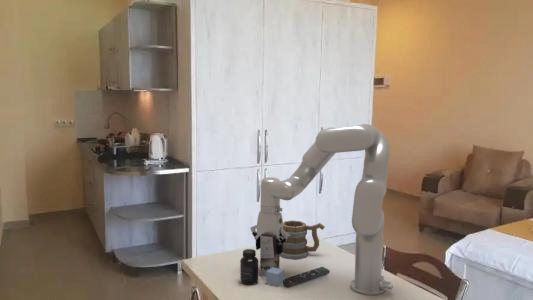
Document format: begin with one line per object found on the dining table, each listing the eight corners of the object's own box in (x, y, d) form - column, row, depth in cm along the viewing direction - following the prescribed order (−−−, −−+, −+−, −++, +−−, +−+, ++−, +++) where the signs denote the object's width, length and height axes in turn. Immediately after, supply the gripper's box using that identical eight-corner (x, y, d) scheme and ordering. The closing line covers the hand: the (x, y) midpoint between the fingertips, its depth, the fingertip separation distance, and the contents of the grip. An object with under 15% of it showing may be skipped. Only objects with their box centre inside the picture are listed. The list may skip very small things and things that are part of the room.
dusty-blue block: (284, 282, 165) (284, 269, 165) (277, 287, 161) (277, 274, 160) (272, 279, 168) (272, 267, 167) (266, 284, 163) (266, 271, 163)
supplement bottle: (262, 281, 166) (262, 250, 164) (249, 287, 161) (249, 255, 159) (249, 276, 170) (249, 246, 169) (236, 281, 165) (236, 251, 164)
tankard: (275, 257, 191) (276, 224, 189) (283, 248, 203) (283, 216, 201) (321, 262, 185) (321, 228, 183) (326, 252, 197) (326, 220, 195)
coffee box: (275, 277, 170) (276, 237, 168) (259, 275, 171) (259, 235, 169) (280, 268, 178) (280, 230, 177) (264, 267, 180) (264, 229, 178)
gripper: (294, 210, 170) (292, 252, 173) (256, 204, 179) (255, 244, 181) (284, 214, 164) (283, 258, 166) (246, 207, 173) (245, 249, 175)
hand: (269, 251), depth 174 cm, fingers open, 9 cm apart
